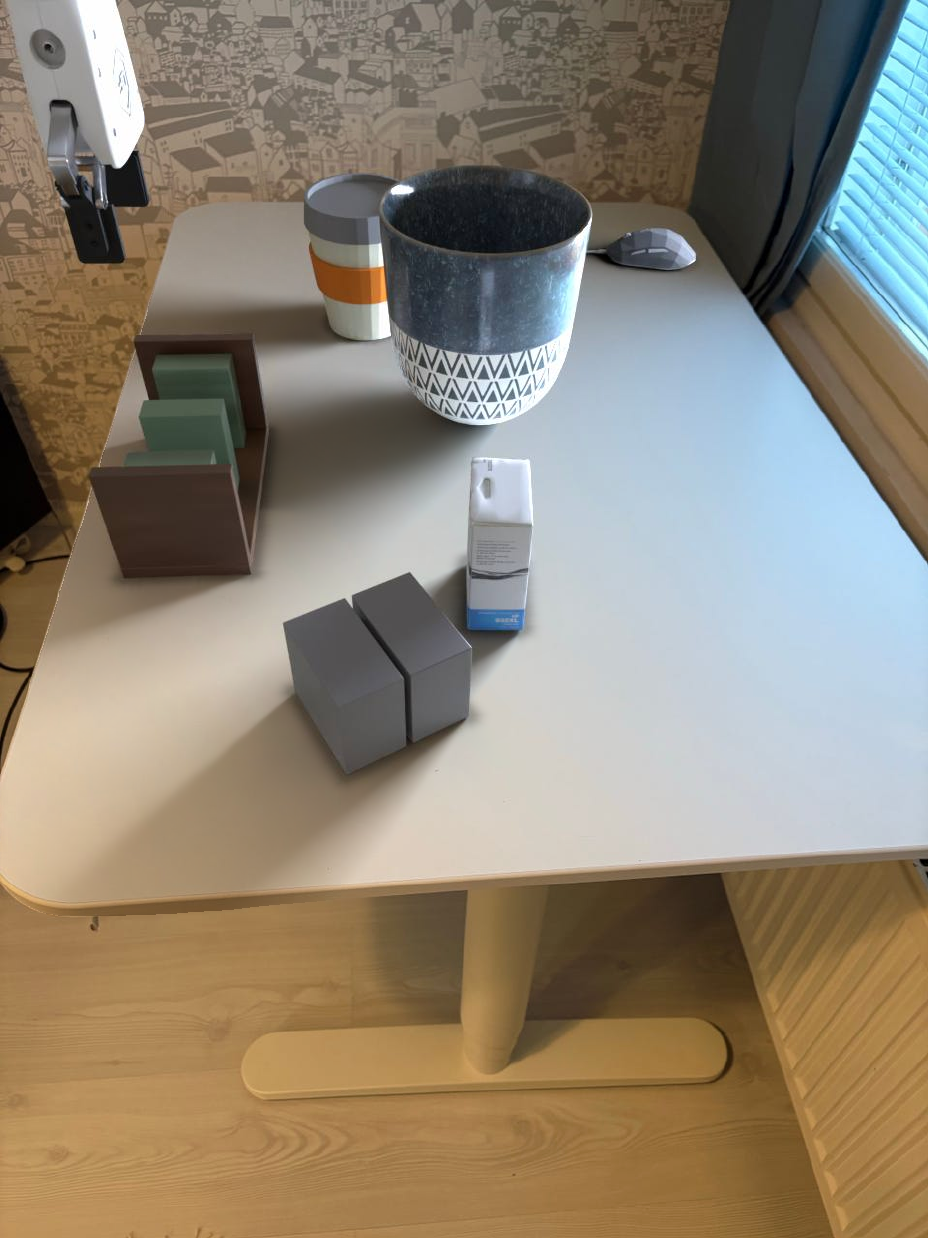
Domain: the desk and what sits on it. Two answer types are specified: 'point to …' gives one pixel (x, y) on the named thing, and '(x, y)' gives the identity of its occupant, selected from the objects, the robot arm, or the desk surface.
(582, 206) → the planter
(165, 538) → the book rack
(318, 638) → the grey blocks
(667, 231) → the gaming mouse
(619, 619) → the desk surface
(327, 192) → the reusable coffee cup
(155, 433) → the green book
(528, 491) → the ink box
